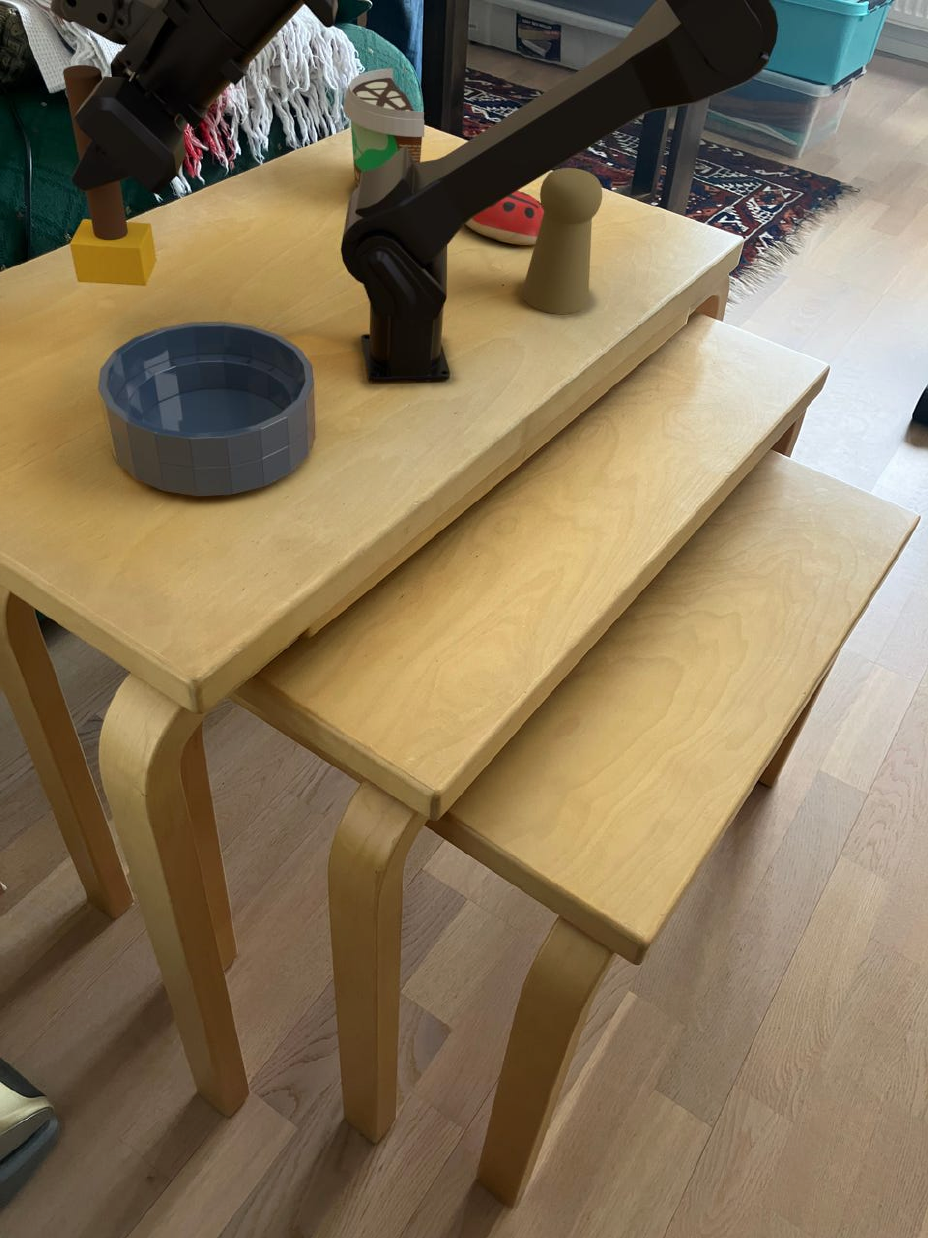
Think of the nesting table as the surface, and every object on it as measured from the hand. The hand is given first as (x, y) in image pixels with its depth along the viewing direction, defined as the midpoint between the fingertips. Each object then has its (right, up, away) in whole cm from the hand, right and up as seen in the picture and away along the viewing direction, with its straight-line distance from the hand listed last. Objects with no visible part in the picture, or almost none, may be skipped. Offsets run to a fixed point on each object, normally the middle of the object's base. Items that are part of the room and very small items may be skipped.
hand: (81, 176), depth 72 cm
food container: (+18, +12, +32) cm, 39 cm away
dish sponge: (+1, -5, +5) cm, 7 cm away
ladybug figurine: (+31, +7, +29) cm, 43 cm away
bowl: (+9, -18, +1) cm, 21 cm away
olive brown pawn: (+35, -2, +20) cm, 41 cm away
